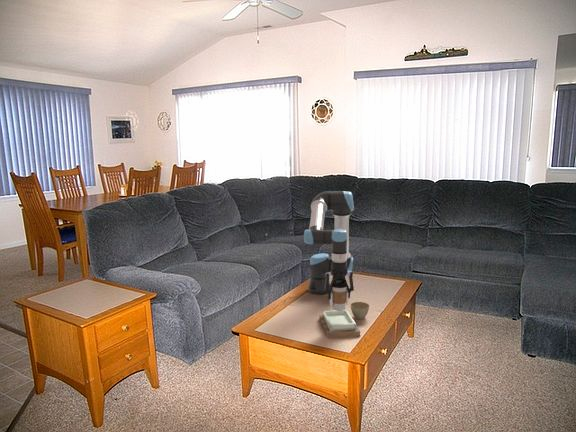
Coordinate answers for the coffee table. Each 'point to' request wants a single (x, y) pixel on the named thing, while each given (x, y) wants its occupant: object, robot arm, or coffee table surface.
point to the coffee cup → (339, 294)
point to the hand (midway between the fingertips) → (338, 304)
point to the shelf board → (338, 333)
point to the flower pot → (359, 309)
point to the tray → (339, 320)
